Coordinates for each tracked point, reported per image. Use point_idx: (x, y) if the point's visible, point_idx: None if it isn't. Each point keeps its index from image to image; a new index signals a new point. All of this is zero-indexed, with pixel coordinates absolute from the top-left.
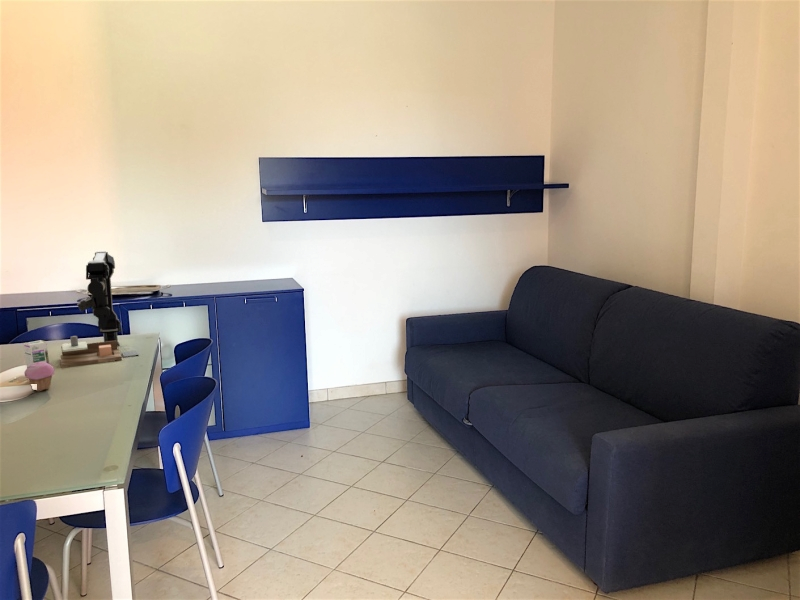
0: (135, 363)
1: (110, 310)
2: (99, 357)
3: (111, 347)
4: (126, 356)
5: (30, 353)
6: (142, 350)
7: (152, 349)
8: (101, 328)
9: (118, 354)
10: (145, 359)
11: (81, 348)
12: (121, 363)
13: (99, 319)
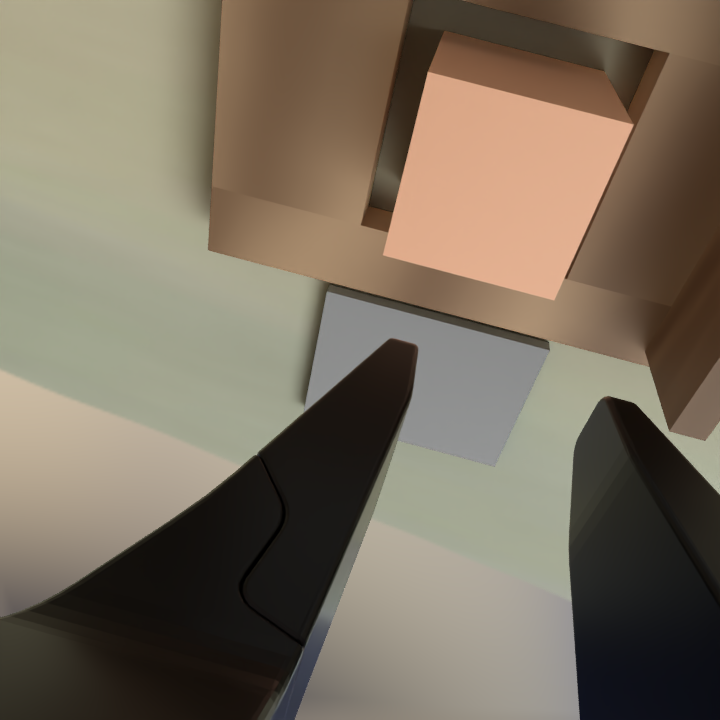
0: (7, 275)
1: None
2: (342, 2)
3: (689, 312)
4: (322, 314)
5: None
6: (502, 500)
7: (466, 554)
8: (382, 350)
9: (339, 262)
10: (122, 386)
11: None
12: (70, 174)
13: (151, 570)
